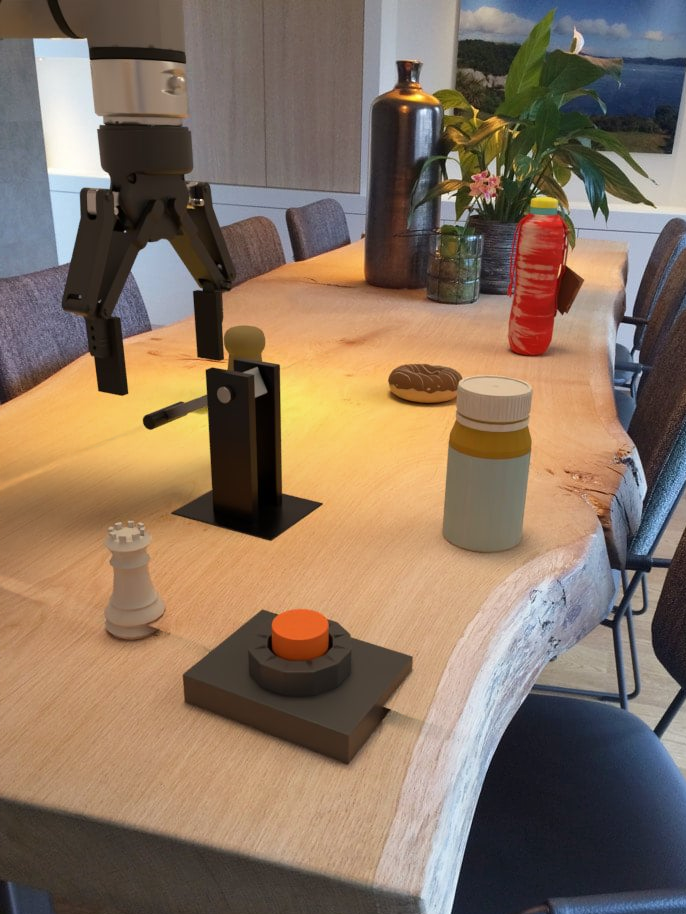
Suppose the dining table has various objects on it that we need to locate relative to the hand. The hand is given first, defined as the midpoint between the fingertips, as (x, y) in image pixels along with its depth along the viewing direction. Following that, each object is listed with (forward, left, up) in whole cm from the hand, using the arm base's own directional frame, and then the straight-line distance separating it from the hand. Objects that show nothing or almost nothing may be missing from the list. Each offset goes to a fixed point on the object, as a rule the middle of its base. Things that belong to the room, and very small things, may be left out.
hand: (165, 374), depth 77 cm
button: (+27, -20, -9) cm, 35 cm away
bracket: (+9, 0, -13) cm, 15 cm away
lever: (+5, 0, -3) cm, 6 cm away
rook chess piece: (+12, -19, -13) cm, 26 cm away
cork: (-10, +27, -13) cm, 32 cm away
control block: (+27, -20, -13) cm, 36 cm away
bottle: (+30, +6, -13) cm, 33 cm away
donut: (+7, +46, -13) cm, 48 cm away
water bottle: (+13, +80, -13) cm, 82 cm away
